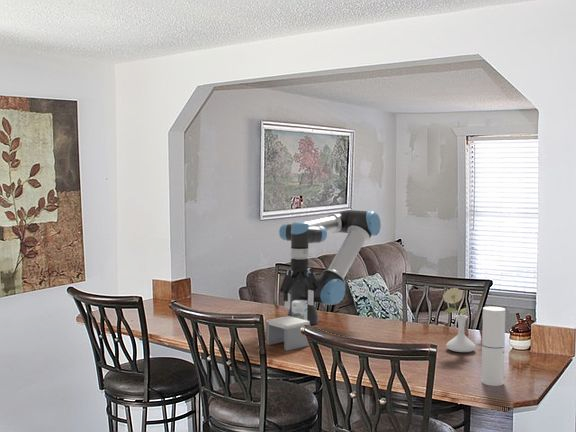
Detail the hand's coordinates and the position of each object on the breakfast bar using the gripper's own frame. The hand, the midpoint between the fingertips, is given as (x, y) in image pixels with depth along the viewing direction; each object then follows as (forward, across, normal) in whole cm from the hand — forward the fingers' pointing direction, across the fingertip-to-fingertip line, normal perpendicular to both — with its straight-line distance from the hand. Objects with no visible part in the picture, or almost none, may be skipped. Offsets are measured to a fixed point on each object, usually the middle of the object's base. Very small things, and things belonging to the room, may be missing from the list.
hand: (299, 306), depth 288 cm
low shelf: (+12, -16, -11) cm, 22 cm away
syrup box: (+12, 0, 0) cm, 12 cm away
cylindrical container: (+12, +5, -92) cm, 93 cm away
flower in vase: (+12, +30, -61) cm, 69 cm away
